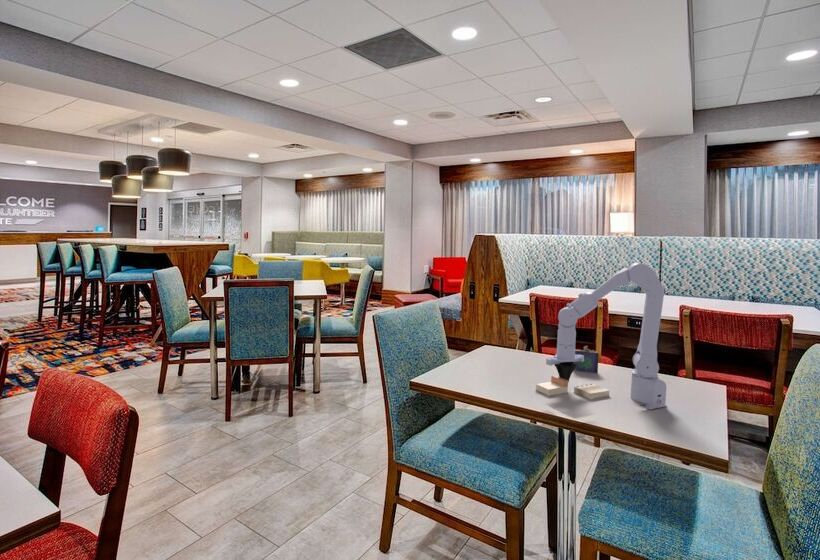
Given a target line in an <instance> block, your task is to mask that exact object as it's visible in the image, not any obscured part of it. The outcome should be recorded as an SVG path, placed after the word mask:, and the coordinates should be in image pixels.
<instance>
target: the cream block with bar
mask: <svg viewBox="0 0 820 560" xmlns="http://www.w3.org/2000/svg"><path fill="white" fill-rule="evenodd" d="M550 378H551V381H547V382H540V383H536V384H535V391H537V392H540V393H541V394H544V395H546V396H548V397H549V396H554V395H560V394H567V393H568V389H569V382H568V380H566V379H563V378H561V377H559V375H556V374H555V375H551V377H550Z"/></svg>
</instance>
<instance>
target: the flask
mask: <svg viewBox="0 0 820 560" xmlns="http://www.w3.org/2000/svg"><path fill="white" fill-rule="evenodd" d="M588 347H589V346H588V345H584V346H583V349H575V355H579V354H580V355H583V356H584V361H582V362H581V361H577V362H573V363H574V364H576V368H575V369H574V371H575V372H577V371H579V372H586V373H592V374H598V373H599V372H598V371H599V370H598V369H599V352H598V351H595V350H594V349H589V348H588Z"/></svg>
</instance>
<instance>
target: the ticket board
mask: <svg viewBox="0 0 820 560" xmlns="http://www.w3.org/2000/svg"><path fill="white" fill-rule="evenodd" d="M573 391H574V392H573V393H574V394H577V395H579V396H582V397H584V398H587V399H589V400H595V399H599V398H600V399H601V398H607V397H610V389H607V388H604V387H602V386H600V385H596V384H594V383H590V384H583V385H577V386H574V388H573Z"/></svg>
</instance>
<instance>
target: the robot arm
mask: <svg viewBox="0 0 820 560" xmlns="http://www.w3.org/2000/svg"><path fill="white" fill-rule="evenodd" d="M630 281H631V282H632V283H633V284H636V285H637V286H638V287H639V288H640V289H641V290H642V291H643V292H644V293H645V300H644V307H643V315H642V321H641V330H640V337H639V343H638V344H637V349H636V352H635V353H634V355H633V356H632V363H633V365H634V369H633V370H631V384H630V399H631V400H633V401H635V402H639V403H642V404H640V405H638V406H639V407H641V408H645V409H646V410H655V409H659V408H663V407H664V408H665V407H667V406H668V405H667V403H666V400H667V399H666V398H667V384H666V382H665V381H664V380H663V379H660V378H659V374H658V373H659V370H660V365H659V362H658V347H657V346H658V340H659V332H660V326H661V325H660V324H661V318H662V311H663V310H662V309H663V303H664V299H665V298H664V296H665V289H664V286H663V284H662V282H661V281H660V279H659V277H658V275H657V273H656V272H655V270H653V269H652V268H651V267H650V266H649V265H647V264H644V263H643V262H637V261H636V262H632V263H630V264H629V265H628V266H627V267H624V268H622V269H621V270H619V271H617V272H615V274H612V276H610V277H609V278H608V279H607V280H605V281H604V282H603V283H602V284H600V286H598V287H596V289H594V290H593V291H591V292H588V291H585V292H583V293H582V292H581V293H579V294H578V295H577V296H578V297H577V298H575V299H574V300H573V301H571V302H570V303H569V302H567V303H566V306H565V307H563V308H561V309H560V310H559V312H558V315H557V317H558V318H557V319H558V325H557V326H558V329H557V340H556V341H557V342H556V354H555V355H554V356H551V357H546V361H545V364H546V365H548V366H553V365H554V366H555V369H556V371H557V373H558V377H561V378H563V379H566V380H568V383H569V382H570V380H571V379H570V378H571V376H572V374H573V372H574V371H575V370H574V369H575V368H576V364H574V363H573V362H577V361H581V362H582V361H584V356H583V355H580V354H579V355H575V350H576V342H577V341H576V338H577V331H576V324H577V322H578V319H582V318H583V317H585V316H586V315H587V314H590V312H591V311H593V310H595V308H597V307H598V306H599V305H598V303H599V300H601V299H602V298H604V297H605V296H607V295H608V294H610V293H611V292H613V291H614V290H615V289H617V288H619V287H621V286H629V285H631V283H630Z"/></svg>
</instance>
